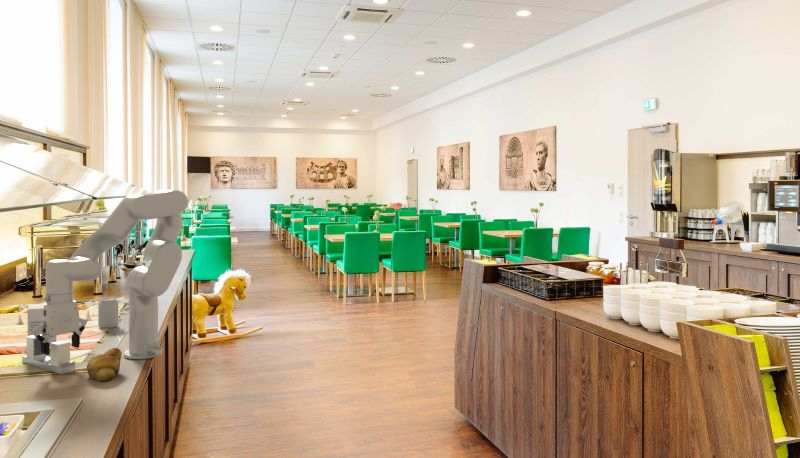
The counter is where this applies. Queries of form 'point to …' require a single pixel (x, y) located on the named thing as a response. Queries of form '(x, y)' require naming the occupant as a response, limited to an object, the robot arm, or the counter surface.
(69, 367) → the rail
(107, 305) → the grey upright block
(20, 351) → the counter surface
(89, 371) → the bread roll
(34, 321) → the supplement box
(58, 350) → the finger
